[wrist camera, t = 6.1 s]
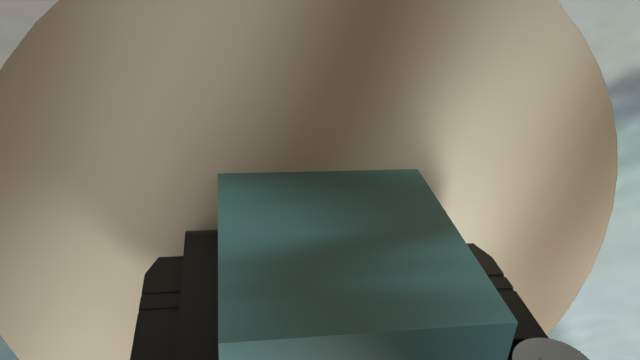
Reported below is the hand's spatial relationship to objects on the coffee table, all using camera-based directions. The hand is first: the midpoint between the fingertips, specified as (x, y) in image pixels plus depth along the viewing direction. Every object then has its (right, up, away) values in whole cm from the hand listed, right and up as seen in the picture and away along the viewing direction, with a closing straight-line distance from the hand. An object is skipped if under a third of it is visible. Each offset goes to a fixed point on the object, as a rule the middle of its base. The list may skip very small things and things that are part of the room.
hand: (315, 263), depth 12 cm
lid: (0, +1, +1) cm, 1 cm away
